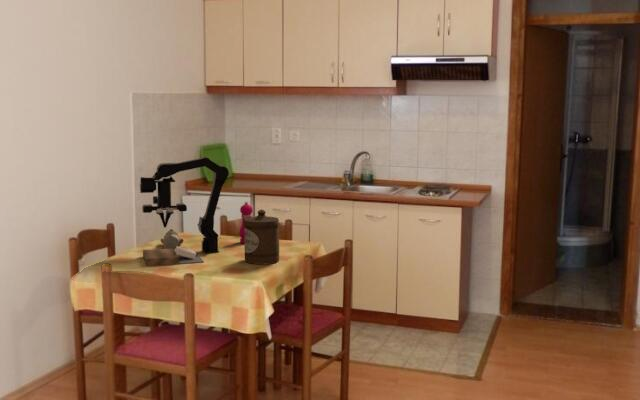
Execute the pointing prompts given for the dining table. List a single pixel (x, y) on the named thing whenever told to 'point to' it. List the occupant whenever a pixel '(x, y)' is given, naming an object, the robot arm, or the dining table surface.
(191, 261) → the mat
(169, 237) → the ceramic sculpture
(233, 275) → the dining table surface
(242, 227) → the pepper mill
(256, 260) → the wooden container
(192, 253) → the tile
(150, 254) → the deck
